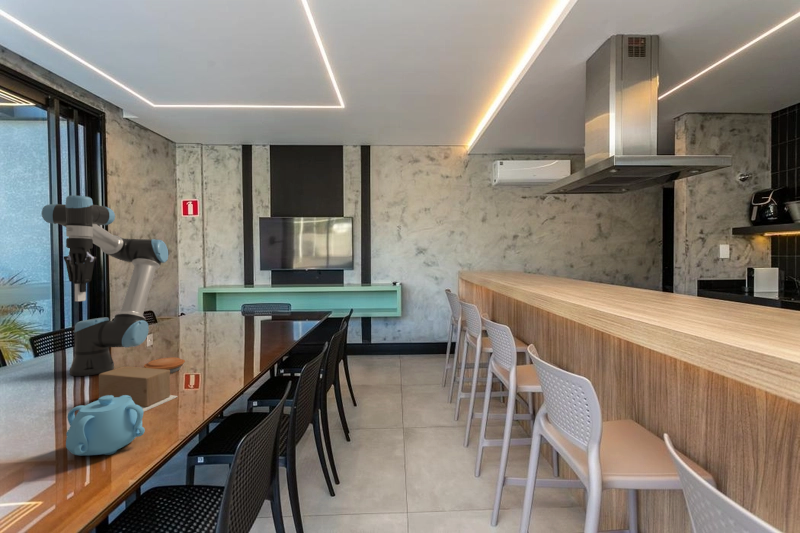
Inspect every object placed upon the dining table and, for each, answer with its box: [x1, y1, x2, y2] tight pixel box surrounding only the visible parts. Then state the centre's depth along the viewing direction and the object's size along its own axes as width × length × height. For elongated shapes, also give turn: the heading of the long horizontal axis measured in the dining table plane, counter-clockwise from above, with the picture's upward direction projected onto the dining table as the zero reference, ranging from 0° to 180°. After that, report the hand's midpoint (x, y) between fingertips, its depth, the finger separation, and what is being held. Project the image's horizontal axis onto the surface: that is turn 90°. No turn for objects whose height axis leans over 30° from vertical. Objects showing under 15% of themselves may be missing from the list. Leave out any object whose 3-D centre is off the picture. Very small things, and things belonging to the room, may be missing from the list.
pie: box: [143, 356, 186, 374], centre depth 165 cm, size 15×16×5 cm
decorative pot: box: [65, 395, 146, 456], centre depth 100 cm, size 16×16×14 cm
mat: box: [140, 394, 178, 413], centre depth 130 cm, size 15×19×1 cm
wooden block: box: [98, 365, 171, 407], centre depth 131 cm, size 10×10×20 cm
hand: (80, 300), depth 138 cm, fingers closed
